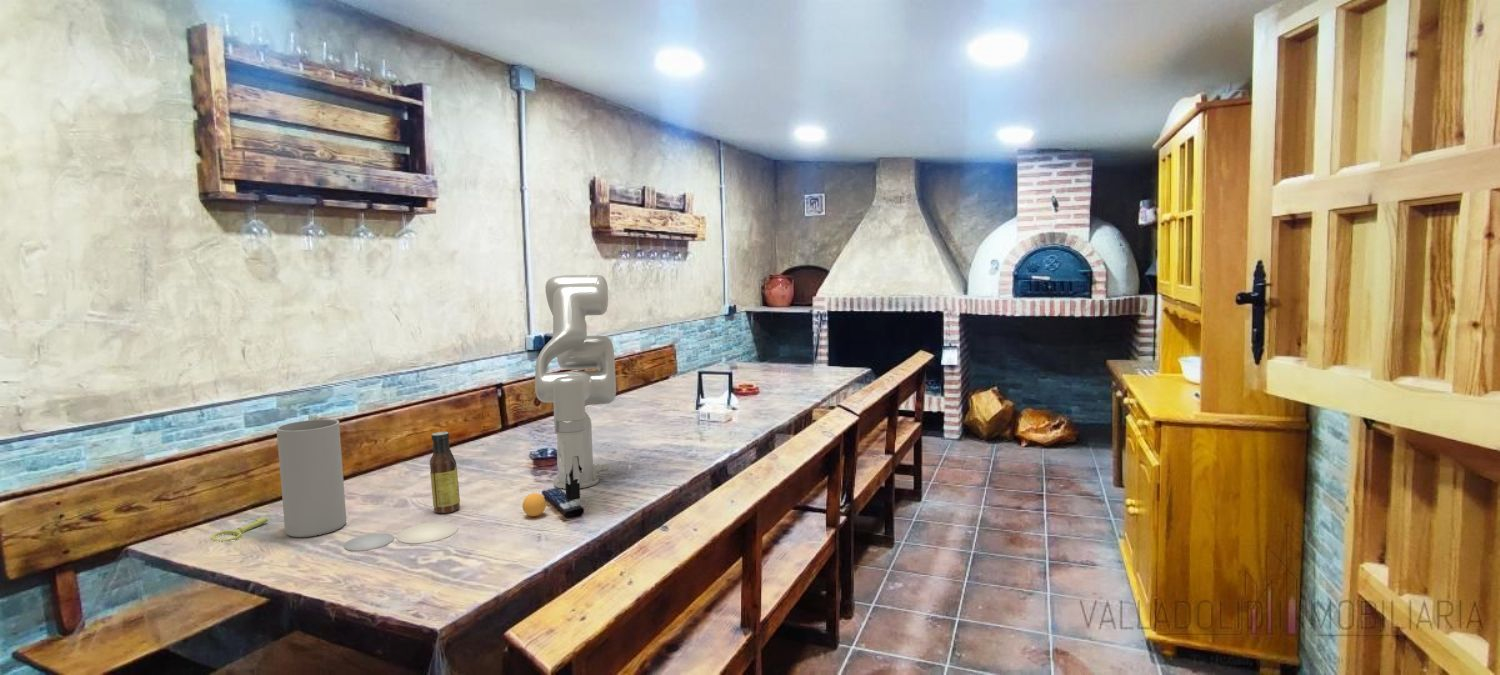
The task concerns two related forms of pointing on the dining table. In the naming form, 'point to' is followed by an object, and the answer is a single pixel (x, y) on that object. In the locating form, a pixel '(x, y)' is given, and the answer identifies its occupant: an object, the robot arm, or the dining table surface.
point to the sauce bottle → (444, 475)
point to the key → (239, 530)
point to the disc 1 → (368, 542)
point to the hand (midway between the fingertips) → (573, 498)
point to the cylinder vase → (311, 477)
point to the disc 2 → (427, 532)
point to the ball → (534, 505)
